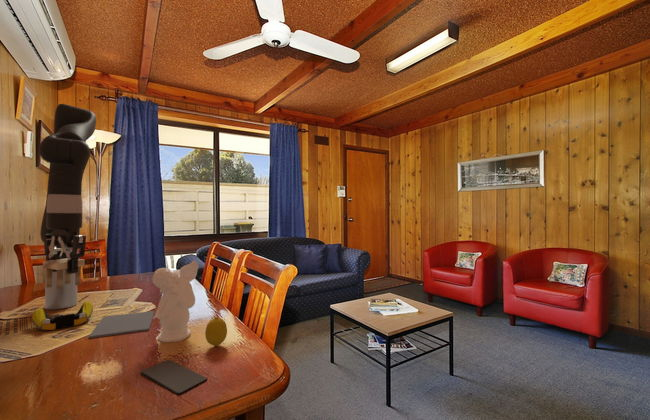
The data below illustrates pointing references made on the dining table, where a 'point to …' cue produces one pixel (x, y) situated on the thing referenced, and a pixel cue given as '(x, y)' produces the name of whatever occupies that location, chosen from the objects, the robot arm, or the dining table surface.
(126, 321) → the mat
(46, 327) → the gaming controller
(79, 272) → the stool
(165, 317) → the cherub figurine
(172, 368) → the smartphone
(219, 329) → the lemon
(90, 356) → the dining table surface
